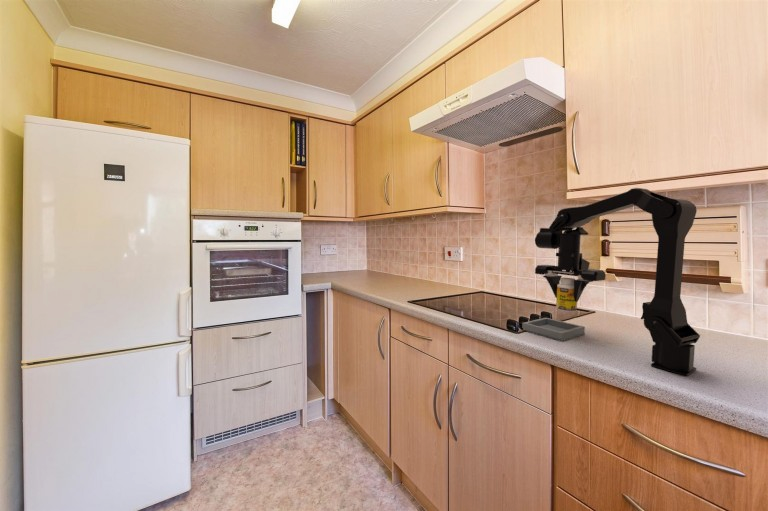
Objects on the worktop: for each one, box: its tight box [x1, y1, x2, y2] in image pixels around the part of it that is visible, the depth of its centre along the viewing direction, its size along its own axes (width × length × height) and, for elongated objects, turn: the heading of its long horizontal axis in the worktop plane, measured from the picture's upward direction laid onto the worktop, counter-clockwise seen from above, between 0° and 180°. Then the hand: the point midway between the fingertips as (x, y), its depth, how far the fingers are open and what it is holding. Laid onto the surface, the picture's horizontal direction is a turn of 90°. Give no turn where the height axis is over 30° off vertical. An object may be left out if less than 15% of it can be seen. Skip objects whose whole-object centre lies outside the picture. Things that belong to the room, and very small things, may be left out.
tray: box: [521, 317, 586, 342], centre depth 102 cm, size 13×13×2 cm
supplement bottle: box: [555, 277, 578, 314], centre depth 98 cm, size 6×6×10 cm
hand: (566, 299), depth 98 cm, fingers closed on supplement bottle, 5 cm apart
